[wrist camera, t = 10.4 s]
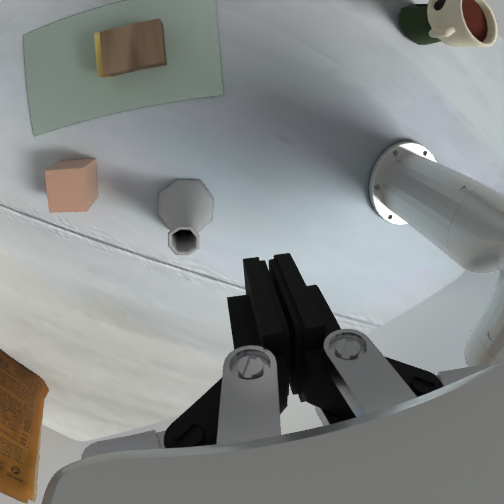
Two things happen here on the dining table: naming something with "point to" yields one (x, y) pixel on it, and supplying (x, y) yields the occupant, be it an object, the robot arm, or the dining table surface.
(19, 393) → the pancake mix bag
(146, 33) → the walnut block
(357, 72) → the dining table surface
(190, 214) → the flask
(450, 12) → the character mug
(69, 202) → the terracotta block
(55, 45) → the rubber mat
